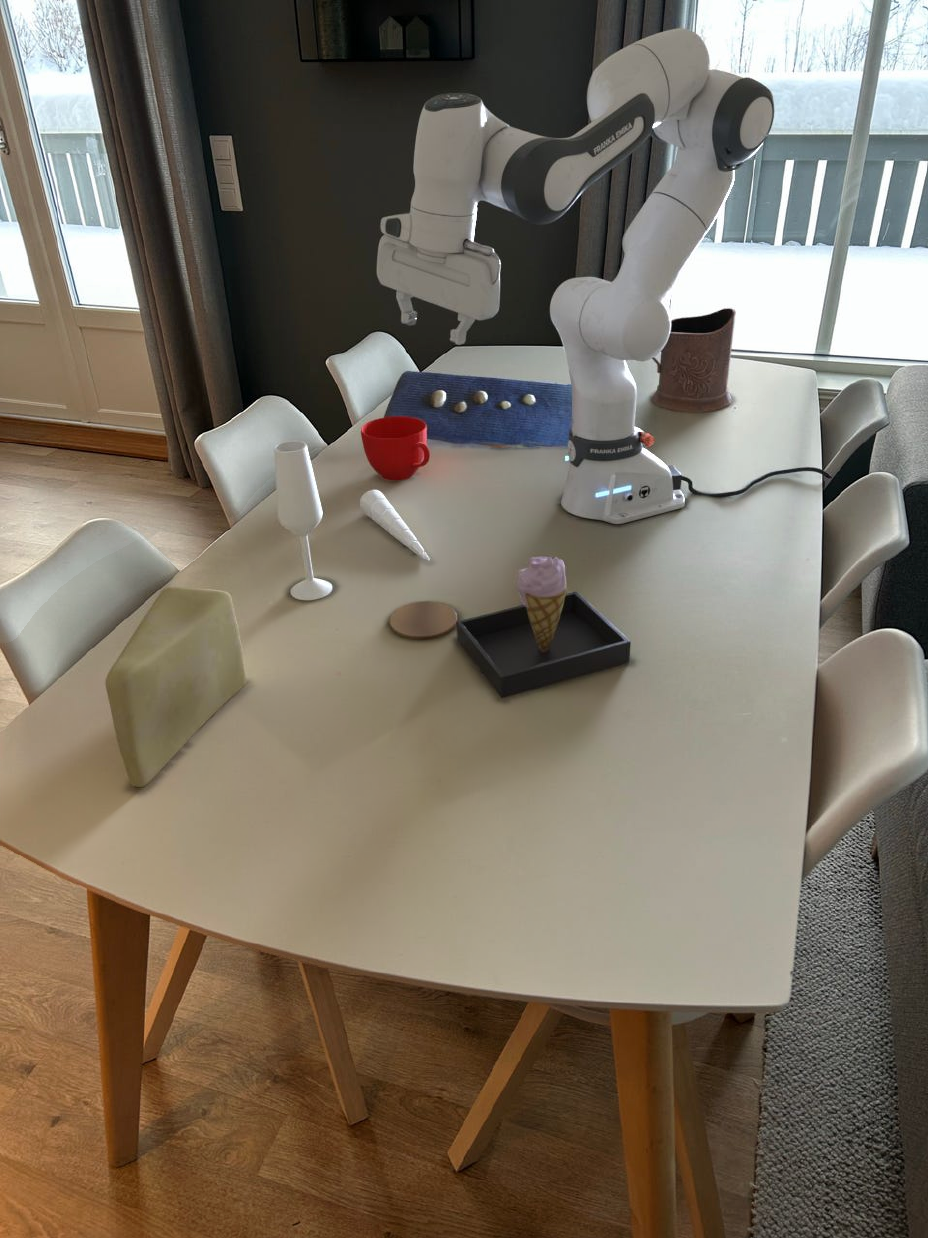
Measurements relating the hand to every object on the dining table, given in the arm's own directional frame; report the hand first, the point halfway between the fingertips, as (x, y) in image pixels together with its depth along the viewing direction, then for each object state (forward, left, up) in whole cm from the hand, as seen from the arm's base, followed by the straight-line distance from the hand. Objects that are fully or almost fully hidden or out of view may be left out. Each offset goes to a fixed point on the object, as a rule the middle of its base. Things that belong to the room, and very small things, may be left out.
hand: (432, 333), depth 130 cm
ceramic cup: (-1, -38, -38) cm, 54 cm away
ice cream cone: (-7, +30, -37) cm, 48 cm away
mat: (-25, -62, -38) cm, 76 cm away
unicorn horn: (+5, -13, -38) cm, 40 cm away
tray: (-7, +30, -38) cm, 48 cm away
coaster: (+7, +17, -38) cm, 42 cm away
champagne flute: (+22, +2, -38) cm, 44 cm away
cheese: (+42, +33, -38) cm, 65 cm away
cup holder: (-73, -62, -38) cm, 103 cm away
